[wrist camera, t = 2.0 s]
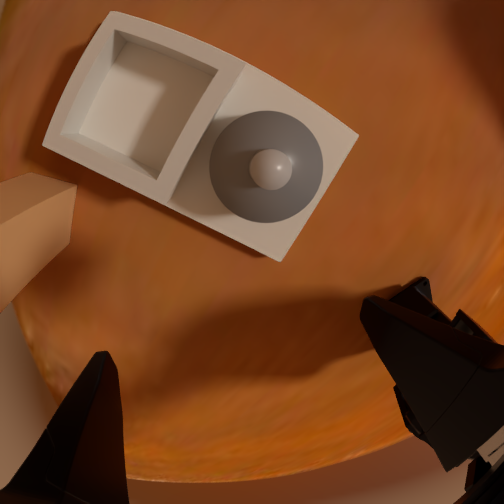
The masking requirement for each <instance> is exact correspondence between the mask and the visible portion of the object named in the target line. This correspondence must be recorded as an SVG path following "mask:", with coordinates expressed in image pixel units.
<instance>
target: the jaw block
mask: <svg viewBox="0 0 504 504" xmlns="http://www.w3.org/2000/svg"><path fill="white" fill-rule="evenodd" d="M76 191H77V185H76V184H72V183H69V182H65V181H61V180H58V179H54V178H50V177H47V176H43V175H39V174H35V173H32V172H30V173H27V174H24V175H21V176H18V177H15V178H12V179H9V180H6V181H3V182H1V183H0V313H1V312H2V311H3V310H4V309H5V307H6V306H7V305H8V304H9V303H10V302H11V301H12V300H13V299H14V298H15V296H16V295H17V294H18V293H19V292H20V291H21V290H22V289H23V288H24V287H25V286H26V285H27V284H28V283H29V282H30V281H31V280H32V279H33V278H34V277H35V276H36V275H37V274H38V273H39V272H40V271H41V270H42V269H43V268H44V267H45V266H46V265H47V264H48V263H49V262H50V261H51V260H52V259H53V258H54V257H55V256H56V255H57V254H59V253H60V252H61V251H62V250H63V249H64V248H65V247H66V246H67V245H68V244H70V234H71V225H72V217H73V210H74V203H75V197H76Z"/></svg>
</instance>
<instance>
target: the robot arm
mask: <svg viewBox="0 0 504 504" xmlns="http://www.w3.org/2000/svg"><path fill="white" fill-rule="evenodd" d="M360 320H361V322H362V324H363V326H364V328H365V330H366V332H367V334H368V336H369V338H370V340H371V342H372V344H373V346H374V348H375V350H376V352H377V354H378V355H379V357H380V359H381V360H382V362H383V363H384V365H385V367H386V368H387V370H388V371H389V373H390V375H391V376H392V378H393V380H394V381H395V383H396V385H395V386H394V387H393V388H394V391H395V394H396V398H397V401H398V404H399V407H400V410H401V414H402V417H403V420H404V423H405V426H406V428H408V430H409V431H410V432H411V433H413V434H414V435H415V436H416V437H417V438H419V439H420V440H423V441H425V442H426V443H428V444H429V445H430V446H431V447H432V448H433V449H434V451H435V452H436V454H437V456H438V458H439V460H440V462H441V464H442V466H443V467H444V469H445V471H446V472H448V471H450V470H451V469H452V468H454V467H458V466H459V465H460V464H462V463H463V462H464V461H465V460H467V459H472V460H473V461H472V462H471V463H470V464H469V465H468V472H467V477H466V483H465V491H466V493H465V494H464V495H463V496H461V498H459V499H458V500H457V501H456V502H455V503H453V504H504V345H501V344H498V343H497V342H496V341H495V340H494V339H493V338H492V337H491V336H490V335H489V334H488V333H487V332H486V331H485V330H484V329H483V328H482V327H481V326H480V325H479V324H478V323H476V322H475V321H474V320H473V319H472V318H470V317H469V316H468V315H467V314H466V313H464V312H463V311H462V310H461V309H459V310H458V312H457V313H456V316H455V317H454V319H453V320H452V321H451V320H450V319H449V318H448V317H447V316H446V315H445V314H444V313H443V312H442V311H441V310H440V309H439V308H438V307H437V306H436V305H435V304H434V303H433V302H432V295H431V289H430V283H429V279H427V278H426V277H422V278H421V279H420V280H418V281H417V282H415V283H414V284H412V285H411V286H410V287H408V288H407V289H405V290H404V291H402V292H401V293H399V294H398V295H396V296H395V297H393V298H392V299H390V300H389V301H387V300H385V299H382V298H380V297H377V296H375V295H372V296H369V297H366V298H364V300H363V303H362V307H361V311H360ZM0 504H129V497H128V489H127V480H126V470H125V458H124V441H123V415H122V405H121V397H120V388H119V378H118V370H117V367H116V365H115V363H114V361H113V359H112V357H111V356H110V354H109V352H108V351H99V352H96V353H95V354H94V355H93V357H92V358H91V360H90V361H89V362H88V364H87V365H86V367H85V368H84V370H83V371H82V373H81V374H80V376H79V377H78V379H77V380H76V382H75V383H74V385H73V386H72V388H71V389H70V391H69V392H68V394H67V395H66V397H65V398H64V400H63V401H62V403H61V404H60V406H59V408H58V409H57V411H56V412H55V414H54V416H53V417H52V419H51V420H50V422H49V424H48V425H47V429H45V430H44V432H43V433H42V435H41V437H40V438H39V440H38V441H37V443H36V445H35V446H34V448H33V449H32V451H31V452H30V454H29V455H28V457H27V458H26V460H25V461H24V462H23V464H22V465H21V466H20V468H19V469H18V471H17V472H16V473H15V475H14V476H13V478H12V479H11V481H10V482H9V483H8V484H7V485H6V486H5V487H4V488H3V489H1V490H0Z"/></svg>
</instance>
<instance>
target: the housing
mask: <svg viewBox="0 0 504 504" xmlns="http://www.w3.org/2000/svg"><path fill="white" fill-rule="evenodd" d="M358 137H359V135H358V134H357V133H355V132H354V131H353V130H351V129H350V128H349V127H347V126H346V125H345V124H343V123H342V122H341V121H339V120H338V119H337V118H335V117H334V116H332V115H331V114H330V113H328V112H327V111H325V110H324V109H322V108H321V107H320V106H318V105H317V104H315V103H314V102H312V101H311V100H309V99H308V98H306V97H305V96H303V95H301V94H300V93H298V92H297V91H295V90H294V89H292V88H290V87H289V86H287V85H285V84H284V83H282V82H280V81H279V80H277V79H275V78H274V77H272V76H270V75H268V74H267V73H265V72H263V71H261V70H259V69H258V68H256V67H254V66H252V65H250V64H248V63H246V62H244V61H242V60H241V59H239V58H237V57H235V56H233V55H231V54H228V53H226V52H224V51H222V50H220V49H218V48H216V47H214V46H211V45H209V44H207V43H205V42H202V41H200V40H198V39H195V38H193V37H191V36H188V35H186V34H183V33H181V32H178V31H175V30H173V29H170V28H167V27H165V26H162V25H159V24H156V23H153V22H150V21H147V20H144V19H141V18H137V17H134V16H131V15H127V14H124V13H120V12H116V11H115V12H113V11H110V13H109V14H108V16H107V17H106V18H105V20H104V21H103V23H102V24H101V26H100V27H99V29H98V30H97V32H96V34H95V35H94V37H93V38H92V40H91V41H90V43H89V45H88V46H87V48H86V50H85V52H84V53H83V55H82V57H81V59H80V60H79V62H78V64H77V66H76V68H75V70H74V72H73V73H72V75H71V77H70V79H69V81H68V83H67V85H66V87H65V90H64V92H63V94H62V96H61V98H60V100H59V103H58V105H57V107H56V110H55V112H54V114H53V117H52V119H51V122H50V124H49V127H48V130H47V132H46V135H45V138H44V141H43V144H42V146H44V147H46V148H48V149H50V150H52V151H54V152H56V153H58V154H60V155H62V156H65V157H67V158H69V159H71V160H73V161H75V162H77V163H79V164H81V165H83V166H85V167H87V168H89V169H91V170H93V171H95V172H97V173H99V174H101V175H104V176H106V177H108V178H110V179H112V180H114V181H116V182H118V183H120V184H122V185H124V186H126V187H128V188H130V189H132V190H134V191H136V192H138V193H140V194H142V195H144V196H147V197H149V198H151V199H153V200H155V201H157V202H159V203H161V204H163V205H165V206H167V207H169V208H171V209H173V210H175V211H177V212H179V213H181V214H183V215H185V216H187V217H189V218H191V219H193V220H195V221H197V222H199V223H202V224H204V225H206V226H208V227H210V228H212V229H214V230H216V231H218V232H220V233H222V234H224V235H226V236H228V237H230V238H232V239H234V240H236V241H238V242H240V243H242V244H244V245H246V246H248V247H250V248H252V249H254V250H256V251H258V252H260V253H262V254H264V255H266V256H268V257H270V258H272V259H274V260H276V261H278V262H281V261H282V259H283V258H284V256H285V255H286V253H287V251H288V250H289V248H290V247H291V245H292V244H293V242H294V241H295V239H296V237H297V236H298V234H299V233H300V231H301V230H302V228H303V226H304V225H305V223H306V222H307V220H308V218H309V217H310V215H311V214H312V212H313V210H314V209H315V207H316V206H317V204H318V202H319V201H320V199H321V198H322V196H323V194H324V193H325V191H326V190H327V188H328V186H329V185H330V183H331V181H332V180H333V178H334V176H335V175H336V173H337V172H338V170H339V168H340V167H341V165H342V163H343V162H344V160H345V158H346V157H347V155H348V153H349V152H350V150H351V148H352V147H353V145H354V143H355V142H356V140H357V138H358Z"/></svg>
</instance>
